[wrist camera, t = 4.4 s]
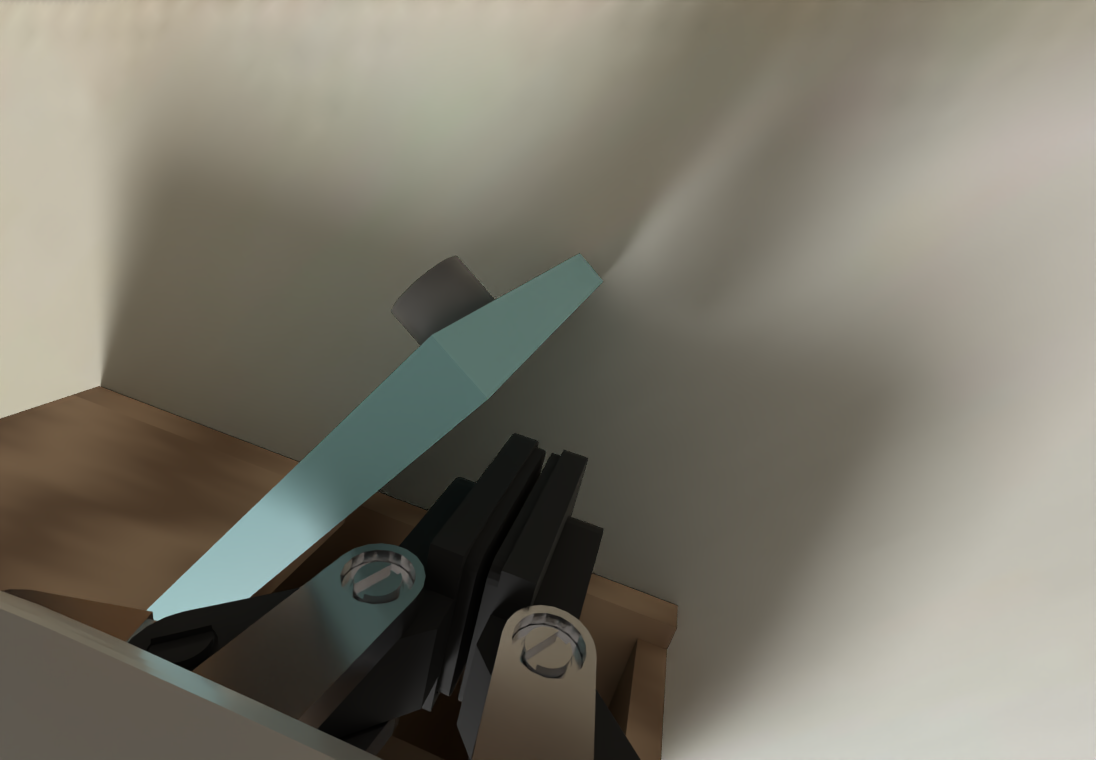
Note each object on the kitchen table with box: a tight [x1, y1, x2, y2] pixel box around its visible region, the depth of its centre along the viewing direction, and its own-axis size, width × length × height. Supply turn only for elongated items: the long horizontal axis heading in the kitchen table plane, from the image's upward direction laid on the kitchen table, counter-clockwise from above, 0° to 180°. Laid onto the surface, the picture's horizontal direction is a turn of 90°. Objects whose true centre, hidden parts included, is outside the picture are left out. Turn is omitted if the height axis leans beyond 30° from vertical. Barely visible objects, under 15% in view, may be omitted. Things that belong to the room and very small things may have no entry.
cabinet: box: [0, 386, 678, 760], centre depth 17 cm, size 24×12×10 cm, turn 76°
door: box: [146, 253, 603, 621], centre depth 13 cm, size 12×2×9 cm, turn 133°
